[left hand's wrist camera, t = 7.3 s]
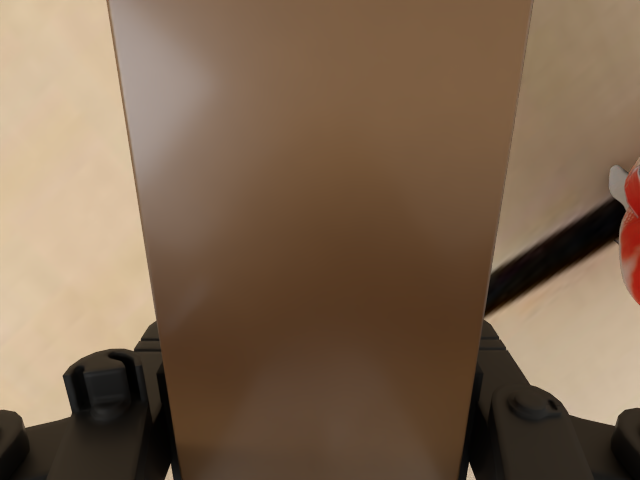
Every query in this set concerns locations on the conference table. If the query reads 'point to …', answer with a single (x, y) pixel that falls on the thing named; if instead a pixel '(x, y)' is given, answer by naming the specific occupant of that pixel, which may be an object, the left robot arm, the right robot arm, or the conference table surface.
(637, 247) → the fish
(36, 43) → the conference table surface
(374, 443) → the bar
